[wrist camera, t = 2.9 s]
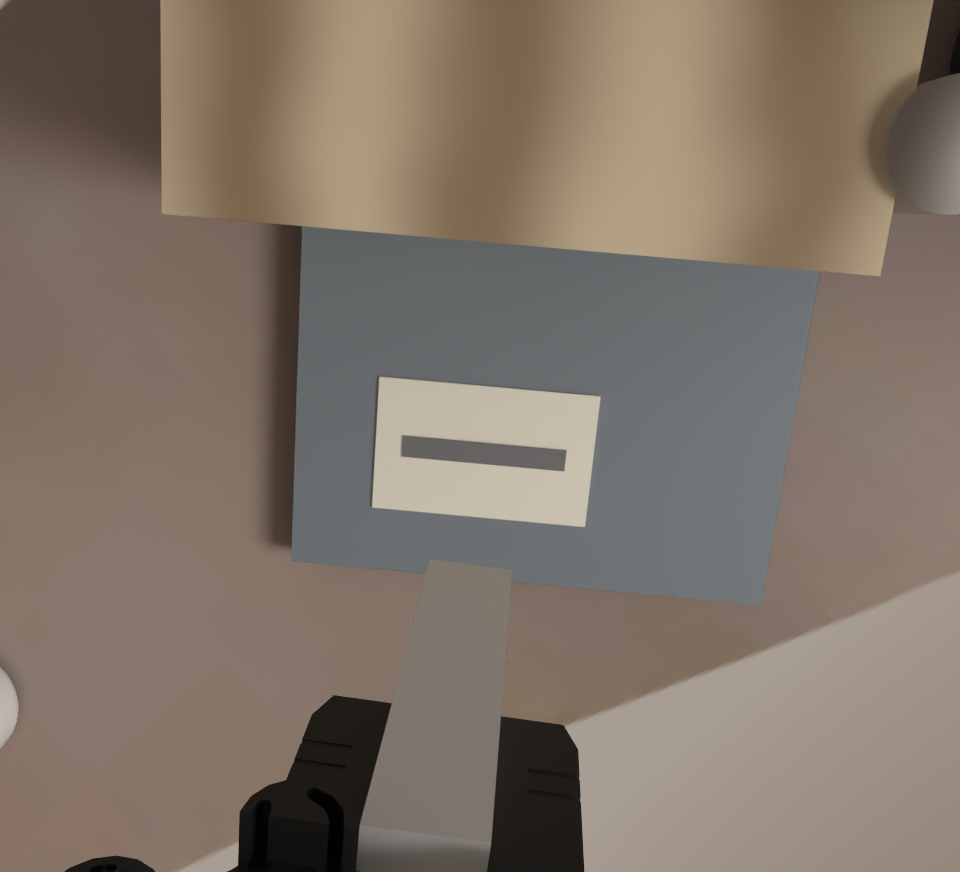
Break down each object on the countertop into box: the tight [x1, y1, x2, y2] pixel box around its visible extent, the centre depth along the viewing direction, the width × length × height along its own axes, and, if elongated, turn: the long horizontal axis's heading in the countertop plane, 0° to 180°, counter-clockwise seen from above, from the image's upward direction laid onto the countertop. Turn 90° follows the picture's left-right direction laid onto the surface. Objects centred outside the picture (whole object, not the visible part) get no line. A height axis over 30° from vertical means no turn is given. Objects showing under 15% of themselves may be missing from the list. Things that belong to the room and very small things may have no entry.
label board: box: [291, 226, 820, 605], centre depth 32 cm, size 19×22×2 cm
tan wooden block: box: [160, 0, 960, 276], centre depth 25 cm, size 20×6×9 cm, turn 85°
